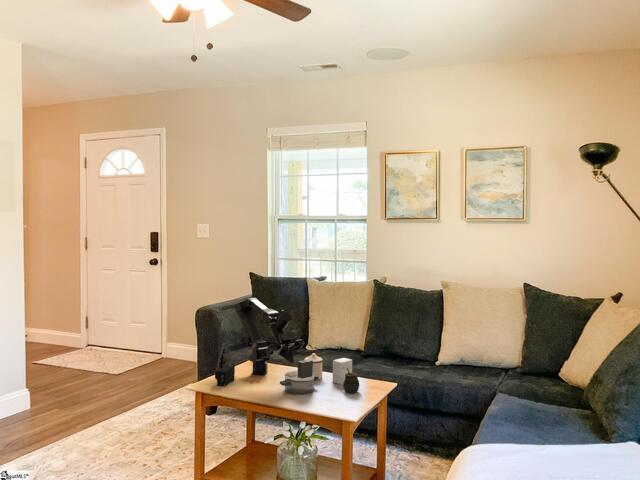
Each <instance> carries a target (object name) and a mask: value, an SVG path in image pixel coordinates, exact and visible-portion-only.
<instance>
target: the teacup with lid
mask: <svg viewBox="0 0 640 480" xmlns="http://www.w3.org/2000/svg"><path fill="white" fill-rule="evenodd" d="M308 359H309V360H312V361H313V373H314V375H316V376H319V377H318V379H316V380H315V381H318V380H321V379H323V363H324V362H323V361H324V360H323V358H322V357H320V356H318V355H316V353H311V355H309V356H307V357H305V358H304V359H303V360H308Z"/></svg>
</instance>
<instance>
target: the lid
mask: <svg viewBox="0 0 640 480" xmlns="http://www.w3.org/2000/svg"><path fill="white" fill-rule="evenodd" d="M285 379H287V380H290V381H296V382H303V381H310V380H313V379H314V373H313V361H312V360H309V359H308V360H304V359H303V360H298V361H297V370H292V371H291V370H290V371H287V372H286V373H284V380H285Z"/></svg>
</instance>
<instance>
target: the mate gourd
mask: <svg viewBox="0 0 640 480" xmlns="http://www.w3.org/2000/svg"><path fill="white" fill-rule="evenodd" d="M347 370H348V368H347ZM342 386H343V390H344V391H345V393H347V394H355V393H357V392H358V391H359V389H360V381H359V379H358V373H356V372H352V373H350V372H349V370H348V373H346V374H345V381H344V383H343V384H342Z"/></svg>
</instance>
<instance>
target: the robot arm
mask: <svg viewBox="0 0 640 480" xmlns="http://www.w3.org/2000/svg"><path fill="white" fill-rule="evenodd" d="M234 308H235V309H234V310H235V312H236V314H237V315H238V318H240V319H242V320H243V322H244V325H245V327H246V330H247V332H248V335H249V337H250V340H251V343H252V348H251V354H250V355H249V357H248V358H249V362H250V363H252V372H251V375H255V376H257V375H258V376H265V375H266V374H267V373H268V362H269V361H270V359H271V356H273V354H274V351H277V352H278V353H277V355H278V356H280V357H282V358H283V359H285V360H286V361H288V363H289V364H294V363H295V362H294V352H295V351H297V352H298V351H300V350H301V348H303V346H304V345H305V344H306V343H305V341H304V340H303V339H302V338H301V339H296V338H297V337H299V334H298V331H297V330H296V329H293V330H291V331H285V329H286V328H287V327H288V325H289V323H290V322H291V321H292V319H293V318H292V316H291V314H290V313H288V312H286V311H285V310H284V309H283V310H280V311H279V312H278V311H277V310H275V309H272V308H268V307H267V306H266V305H264V304H263V303H262V302H261V301H259V300H258V298H256V297H251V298H250V297H249V298H246V299H245V300H243V301H241V302H237V304H236V305H235V307H234ZM254 312H256V314H258V315H260V316H261V320H262V322H263V323H264V324H265V325H269V326H268V330H267V332H268V333H271V334H272V336H273V343H270V344H269V342H268V341H266V340H265V341H264V340H263V338H262V336H261V334H260V331H259V328H258V326H257V324H256V322H255V319H254V316H253V315H254ZM293 339H294V341H293ZM292 342H293V343H292ZM267 361H268V362H267Z"/></svg>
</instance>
